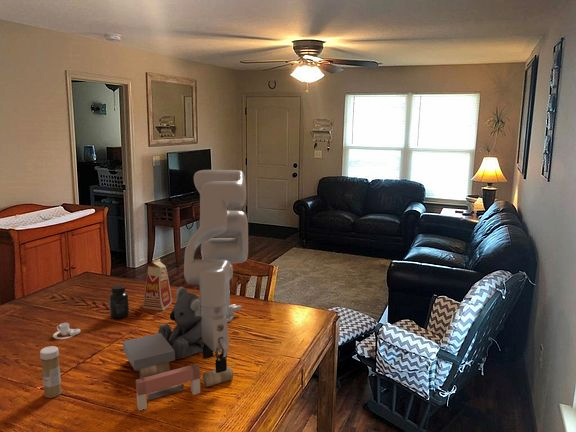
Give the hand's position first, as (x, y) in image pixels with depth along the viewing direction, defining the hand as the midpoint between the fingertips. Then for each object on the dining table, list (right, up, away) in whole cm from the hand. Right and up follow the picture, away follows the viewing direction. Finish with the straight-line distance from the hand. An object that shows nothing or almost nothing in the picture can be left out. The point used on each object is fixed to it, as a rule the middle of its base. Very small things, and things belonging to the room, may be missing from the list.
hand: (214, 364), depth 142 cm
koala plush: (-12, -1, +22) cm, 25 cm away
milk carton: (-32, +7, +56) cm, 65 cm away
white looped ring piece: (-56, +1, +27) cm, 62 cm away
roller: (0, -4, +1) cm, 4 cm away
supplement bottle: (-43, +5, +44) cm, 62 cm away
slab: (-21, +1, +6) cm, 22 cm away
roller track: (-19, -4, +3) cm, 20 cm away
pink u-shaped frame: (-11, -7, -10) cm, 16 cm away
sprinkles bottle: (-44, -6, -7) cm, 45 cm away
